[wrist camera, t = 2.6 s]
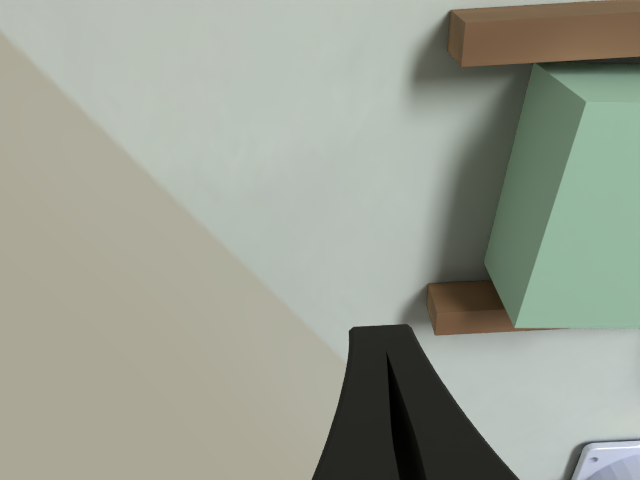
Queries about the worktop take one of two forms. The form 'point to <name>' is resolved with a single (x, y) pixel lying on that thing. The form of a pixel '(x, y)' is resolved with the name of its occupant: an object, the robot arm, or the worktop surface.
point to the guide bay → (515, 48)
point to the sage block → (572, 201)
